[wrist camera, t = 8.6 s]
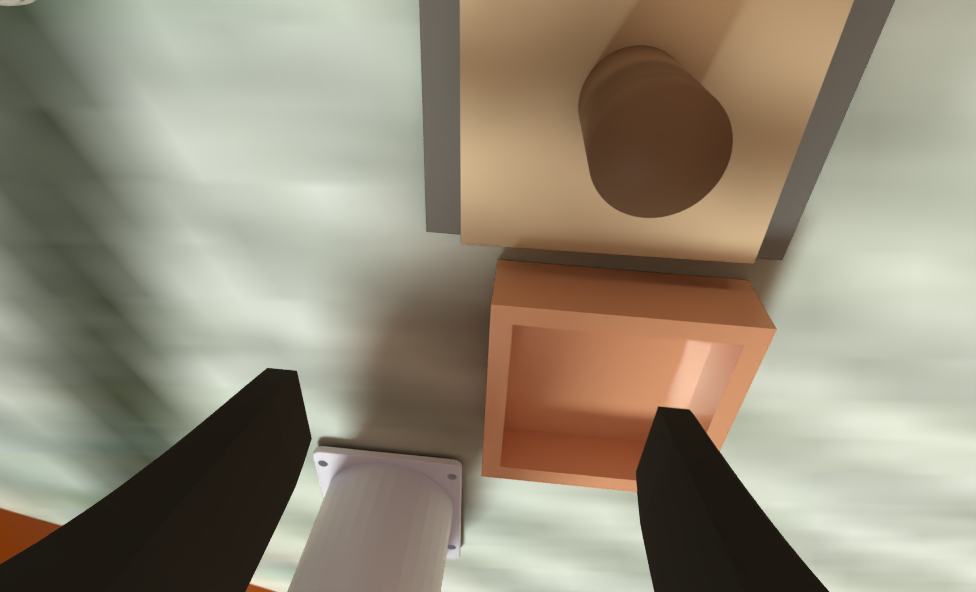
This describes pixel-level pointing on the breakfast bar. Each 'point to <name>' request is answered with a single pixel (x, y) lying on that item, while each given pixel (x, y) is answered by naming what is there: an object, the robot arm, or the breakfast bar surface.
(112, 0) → the breakfast bar surface
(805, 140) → the mat
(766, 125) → the lid
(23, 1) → the ceramic mug
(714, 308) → the dish
